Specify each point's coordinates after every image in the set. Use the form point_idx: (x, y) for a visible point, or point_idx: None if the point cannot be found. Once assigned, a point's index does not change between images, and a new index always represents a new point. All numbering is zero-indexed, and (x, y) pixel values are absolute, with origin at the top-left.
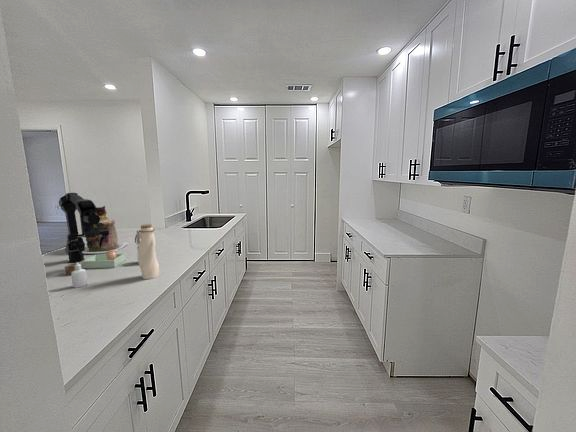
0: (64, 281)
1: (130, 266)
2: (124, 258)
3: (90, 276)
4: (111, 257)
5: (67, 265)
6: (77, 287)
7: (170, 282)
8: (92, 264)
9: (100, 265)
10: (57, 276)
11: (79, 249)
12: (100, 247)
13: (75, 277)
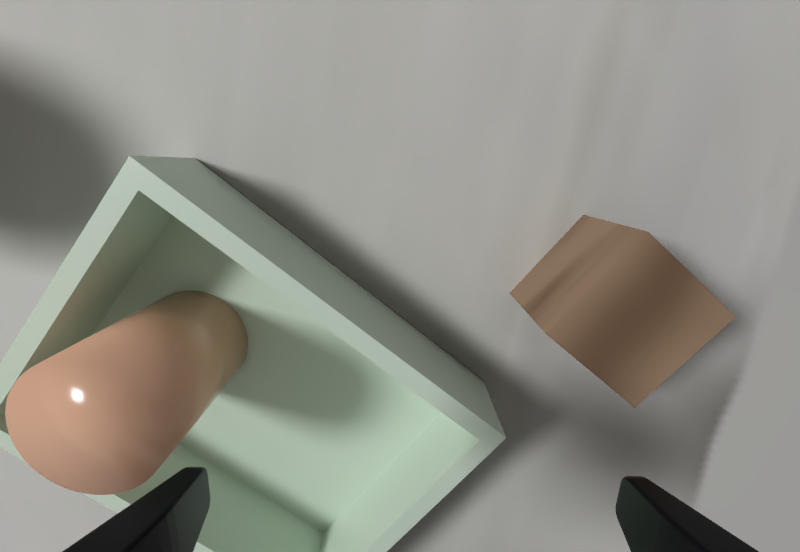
0: (737, 54)
1: (13, 51)
2: None
3: (491, 10)
4: (147, 324)
5: (690, 353)
6: None
7: None
8: (399, 336)
9: (325, 273)
10: None
11: (690, 515)
12: (178, 476)
13: None
